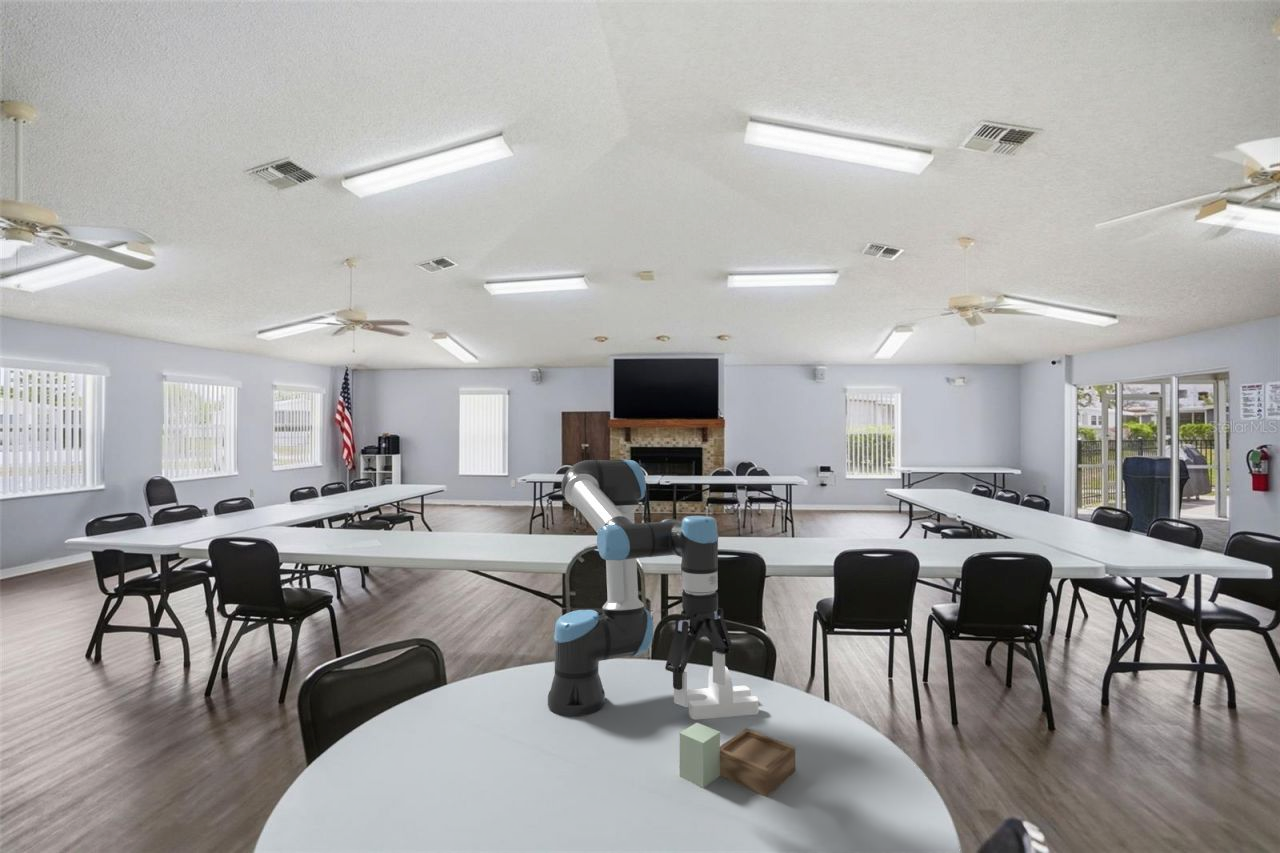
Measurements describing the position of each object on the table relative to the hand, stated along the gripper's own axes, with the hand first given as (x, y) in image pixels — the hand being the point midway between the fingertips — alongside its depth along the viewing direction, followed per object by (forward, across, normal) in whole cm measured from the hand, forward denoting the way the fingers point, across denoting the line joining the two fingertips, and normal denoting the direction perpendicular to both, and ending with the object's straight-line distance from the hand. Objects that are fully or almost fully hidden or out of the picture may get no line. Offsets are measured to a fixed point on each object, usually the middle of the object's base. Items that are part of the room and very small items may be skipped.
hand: (700, 693), depth 121 cm
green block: (+17, 0, 0) cm, 17 cm away
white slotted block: (+17, +29, +14) cm, 36 cm away
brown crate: (+17, +9, -8) cm, 21 cm away
